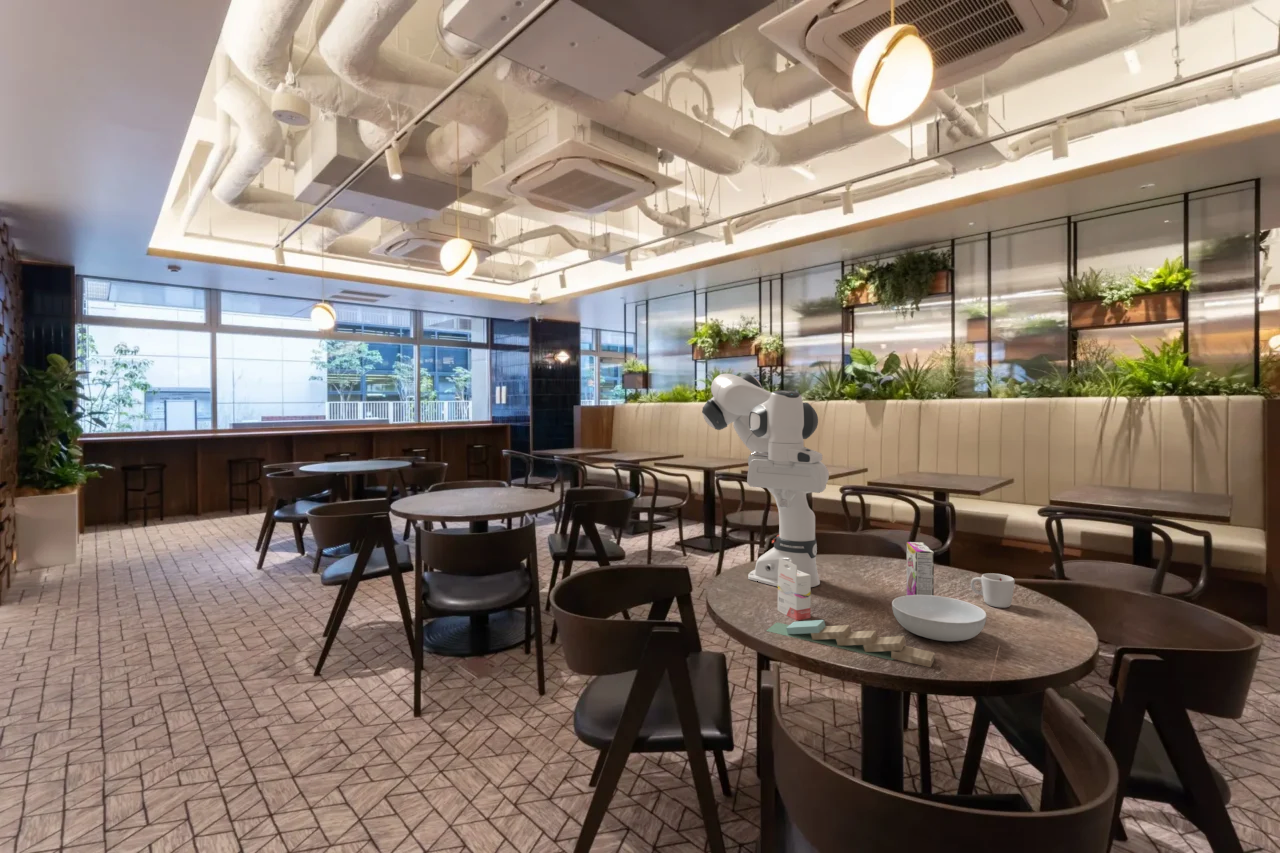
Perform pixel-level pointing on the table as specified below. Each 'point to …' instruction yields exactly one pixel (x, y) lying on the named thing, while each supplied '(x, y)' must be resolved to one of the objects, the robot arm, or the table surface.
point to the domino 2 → (832, 632)
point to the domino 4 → (886, 644)
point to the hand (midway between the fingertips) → (785, 506)
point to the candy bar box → (920, 569)
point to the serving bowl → (939, 617)
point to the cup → (995, 589)
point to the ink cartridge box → (793, 591)
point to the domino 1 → (805, 627)
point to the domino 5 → (914, 656)
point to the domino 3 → (858, 638)
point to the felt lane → (827, 641)
